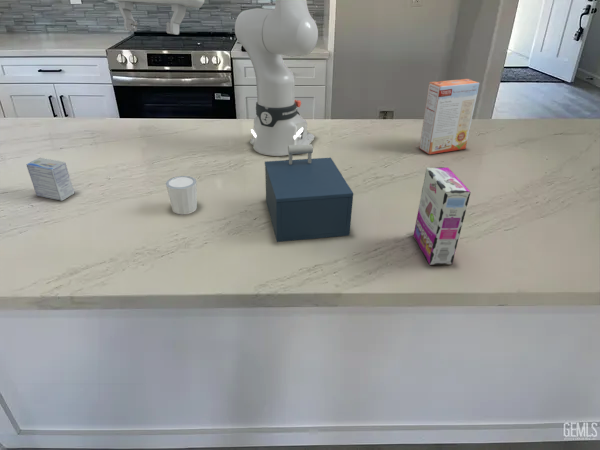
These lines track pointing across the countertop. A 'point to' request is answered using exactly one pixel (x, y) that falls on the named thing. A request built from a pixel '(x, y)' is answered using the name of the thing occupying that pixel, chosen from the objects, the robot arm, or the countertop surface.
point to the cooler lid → (306, 177)
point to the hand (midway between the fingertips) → (151, 32)
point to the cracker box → (448, 115)
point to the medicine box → (50, 178)
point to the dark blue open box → (308, 217)
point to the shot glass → (182, 194)
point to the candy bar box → (440, 215)
